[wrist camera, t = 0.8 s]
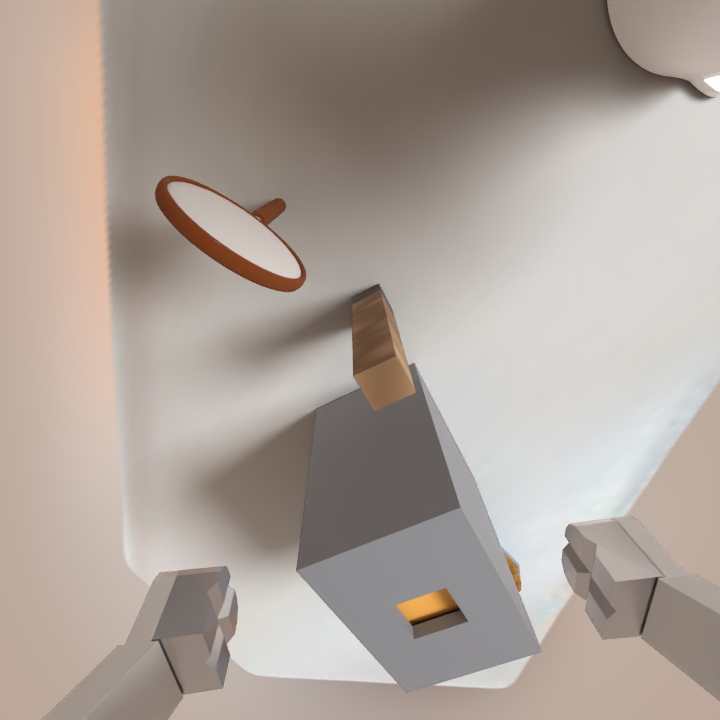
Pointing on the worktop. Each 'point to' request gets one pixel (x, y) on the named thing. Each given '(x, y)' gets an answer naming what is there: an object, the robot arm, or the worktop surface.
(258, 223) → the magnifying glass
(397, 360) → the long brown rectangular block
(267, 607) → the worktop surface
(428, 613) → the button
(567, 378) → the worktop surface
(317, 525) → the grey tissue box
